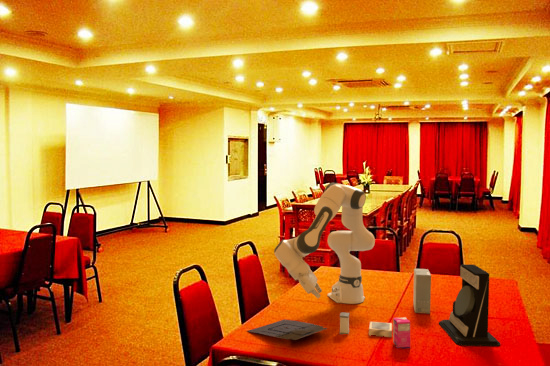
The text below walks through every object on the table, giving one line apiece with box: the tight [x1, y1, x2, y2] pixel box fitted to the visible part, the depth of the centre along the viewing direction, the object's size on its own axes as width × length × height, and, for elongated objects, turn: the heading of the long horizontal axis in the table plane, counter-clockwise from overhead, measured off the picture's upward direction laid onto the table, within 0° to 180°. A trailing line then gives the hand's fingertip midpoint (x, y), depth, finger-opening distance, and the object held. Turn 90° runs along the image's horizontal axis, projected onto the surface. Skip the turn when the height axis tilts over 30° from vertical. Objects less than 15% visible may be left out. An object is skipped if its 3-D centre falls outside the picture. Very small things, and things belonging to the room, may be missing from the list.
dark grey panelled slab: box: [247, 319, 328, 341], centre depth 227 cm, size 24×30×4 cm
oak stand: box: [368, 321, 393, 338], centre depth 229 cm, size 10×10×3 cm
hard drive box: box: [412, 268, 432, 314], centre depth 263 cm, size 16×8×20 cm, turn 168°
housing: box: [338, 311, 350, 335], centre depth 229 cm, size 4×5×8 cm
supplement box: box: [392, 316, 411, 349], centre depth 213 cm, size 6×6×12 cm
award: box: [438, 263, 501, 347], centre depth 227 cm, size 30×19×30 cm, turn 178°
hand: (320, 294), depth 231 cm, fingers open, 8 cm apart
